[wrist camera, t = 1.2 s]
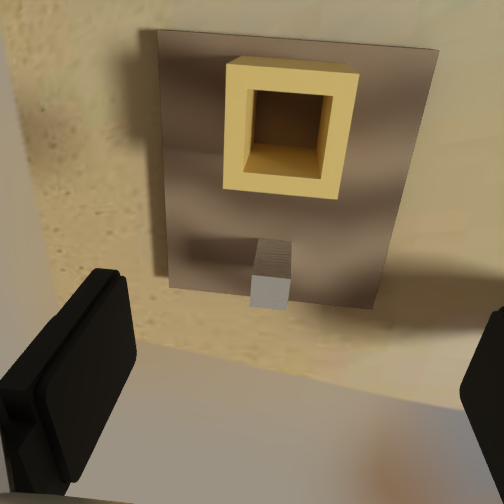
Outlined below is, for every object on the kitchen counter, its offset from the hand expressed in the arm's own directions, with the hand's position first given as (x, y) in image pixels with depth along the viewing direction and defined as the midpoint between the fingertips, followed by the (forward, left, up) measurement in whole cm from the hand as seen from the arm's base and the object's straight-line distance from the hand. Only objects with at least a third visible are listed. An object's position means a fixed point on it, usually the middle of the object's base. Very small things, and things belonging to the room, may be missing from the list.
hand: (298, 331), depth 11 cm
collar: (-2, -1, -18) cm, 18 cm away
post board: (+3, -1, -19) cm, 19 cm away
